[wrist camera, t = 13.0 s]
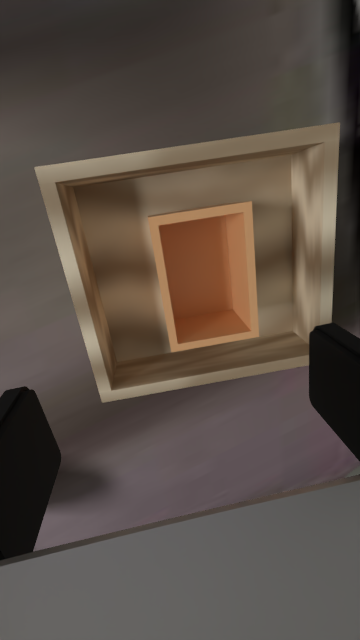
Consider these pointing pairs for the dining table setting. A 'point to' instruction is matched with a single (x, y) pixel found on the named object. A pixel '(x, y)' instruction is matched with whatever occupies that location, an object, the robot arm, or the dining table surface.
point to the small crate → (207, 274)
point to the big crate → (139, 261)
